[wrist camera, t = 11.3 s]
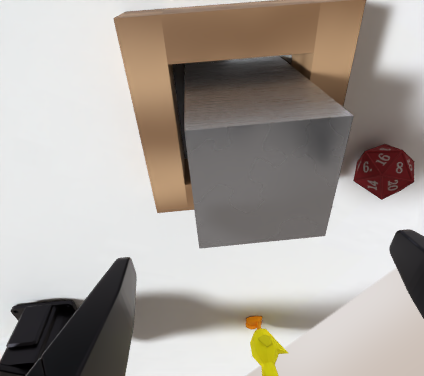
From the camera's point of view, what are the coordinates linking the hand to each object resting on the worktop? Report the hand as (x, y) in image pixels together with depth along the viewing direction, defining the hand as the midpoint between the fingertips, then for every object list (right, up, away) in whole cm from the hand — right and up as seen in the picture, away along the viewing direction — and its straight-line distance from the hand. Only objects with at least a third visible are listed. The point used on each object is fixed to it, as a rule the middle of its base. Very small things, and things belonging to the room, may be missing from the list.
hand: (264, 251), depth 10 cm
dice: (+11, +5, +14) cm, 18 cm away
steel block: (0, +8, +10) cm, 13 cm away
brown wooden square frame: (0, +8, +10) cm, 13 cm away
